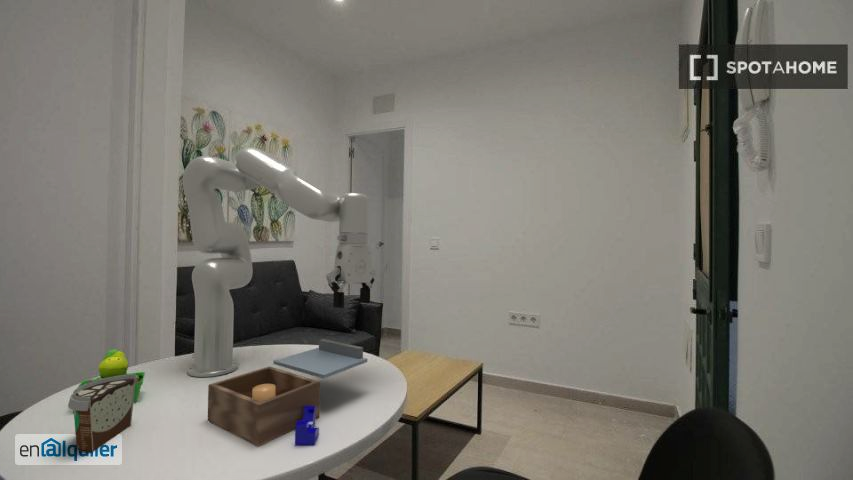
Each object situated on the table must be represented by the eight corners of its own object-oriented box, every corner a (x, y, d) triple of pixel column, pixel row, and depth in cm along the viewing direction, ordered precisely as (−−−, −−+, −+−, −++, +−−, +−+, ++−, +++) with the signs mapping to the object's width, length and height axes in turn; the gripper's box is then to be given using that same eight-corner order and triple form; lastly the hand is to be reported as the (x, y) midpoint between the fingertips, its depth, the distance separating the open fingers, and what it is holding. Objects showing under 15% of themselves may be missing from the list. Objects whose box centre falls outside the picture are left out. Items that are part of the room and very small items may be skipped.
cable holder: (314, 446, 68) (315, 424, 68) (294, 447, 67) (295, 425, 68) (322, 425, 76) (323, 405, 76) (304, 425, 75) (305, 405, 75)
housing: (207, 421, 76) (208, 384, 76) (268, 398, 88) (269, 366, 88) (258, 447, 67) (259, 405, 67) (319, 417, 79) (319, 381, 79)
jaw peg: (247, 418, 77) (247, 389, 77) (266, 410, 80) (266, 382, 80) (261, 423, 74) (261, 393, 74) (279, 415, 78) (280, 386, 78)
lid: (273, 363, 89) (273, 349, 89) (319, 350, 100) (319, 338, 101) (323, 378, 80) (323, 363, 80) (367, 361, 91) (367, 348, 91)
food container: (103, 424, 74) (104, 373, 74) (136, 423, 75) (137, 373, 75) (45, 460, 62) (47, 399, 62) (85, 459, 62) (87, 398, 62)
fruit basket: (73, 416, 77) (74, 361, 77) (82, 401, 85) (84, 351, 85) (142, 404, 83) (143, 353, 84) (145, 391, 91) (146, 344, 91)
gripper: (339, 239, 90) (337, 311, 90) (385, 240, 104) (384, 302, 104) (318, 239, 94) (316, 307, 94) (365, 240, 108) (364, 299, 108)
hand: (352, 305), depth 99 cm, fingers open, 9 cm apart
